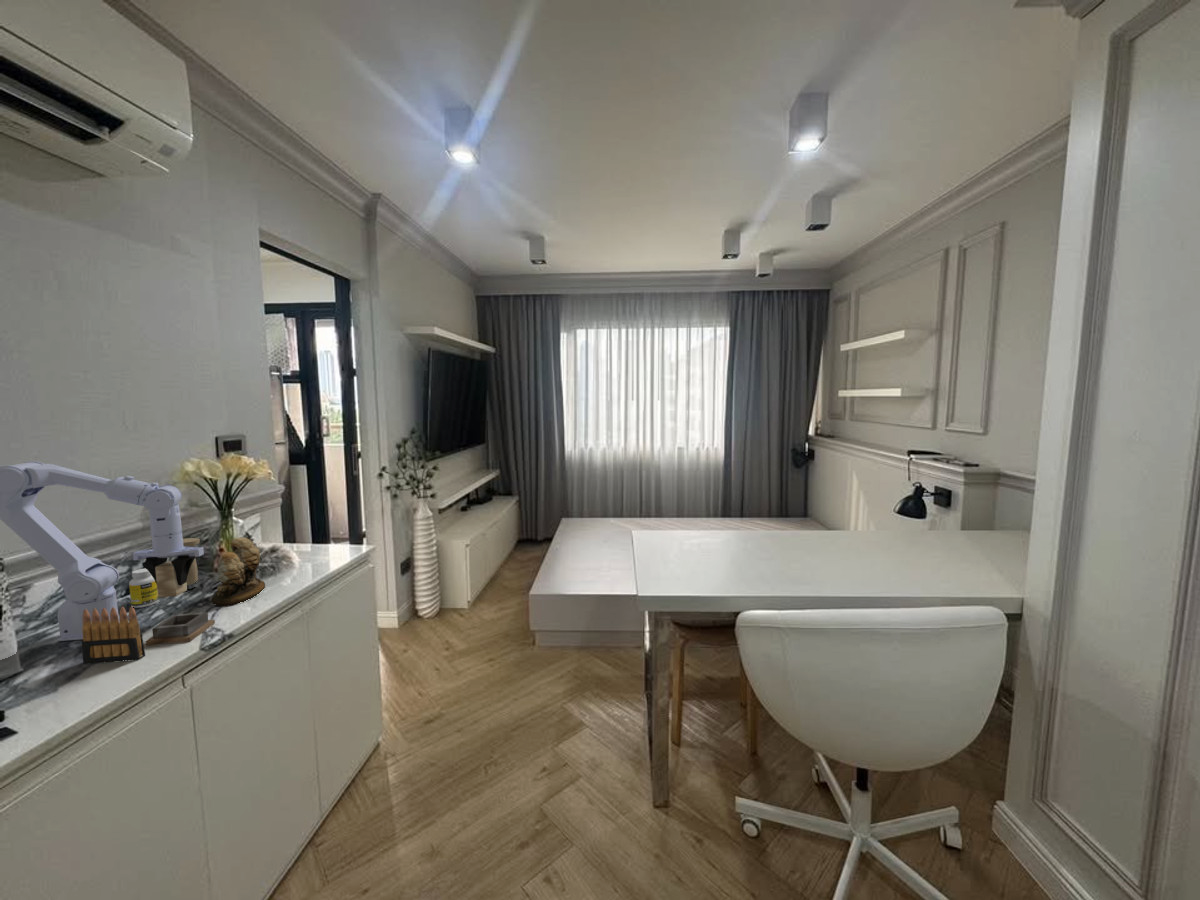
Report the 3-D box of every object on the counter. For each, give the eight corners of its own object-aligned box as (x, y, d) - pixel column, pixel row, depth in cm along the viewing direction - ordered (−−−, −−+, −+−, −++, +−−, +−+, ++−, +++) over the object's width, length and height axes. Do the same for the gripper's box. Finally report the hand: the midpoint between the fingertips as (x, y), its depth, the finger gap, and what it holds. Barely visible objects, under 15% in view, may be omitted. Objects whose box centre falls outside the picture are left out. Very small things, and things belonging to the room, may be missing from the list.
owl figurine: (226, 585, 141) (222, 531, 139) (272, 580, 145) (268, 528, 144) (201, 609, 124) (196, 548, 123) (254, 603, 129) (249, 544, 127)
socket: (146, 645, 106) (144, 630, 106) (174, 626, 115) (173, 613, 115) (190, 641, 108) (189, 627, 108) (214, 623, 117) (213, 610, 116)
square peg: (158, 597, 116) (155, 566, 115) (170, 591, 120) (166, 561, 119) (176, 596, 117) (173, 565, 116) (187, 589, 121) (184, 560, 120)
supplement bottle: (142, 609, 125) (138, 574, 124) (126, 607, 126) (122, 573, 125) (164, 600, 130) (160, 567, 129) (148, 599, 131) (144, 566, 130)
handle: (195, 591, 137) (190, 542, 135) (172, 592, 136) (167, 543, 134) (207, 584, 141) (203, 537, 140) (185, 585, 141) (180, 538, 139)
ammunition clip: (82, 664, 99) (76, 611, 97) (91, 659, 101) (84, 607, 99) (138, 660, 100) (132, 607, 99) (145, 655, 102) (139, 604, 101)
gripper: (209, 527, 122) (214, 576, 123) (146, 530, 119) (151, 580, 121) (191, 535, 115) (196, 586, 116) (123, 538, 112) (129, 591, 114)
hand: (172, 584), depth 118 cm, fingers closed on square peg, 4 cm apart
